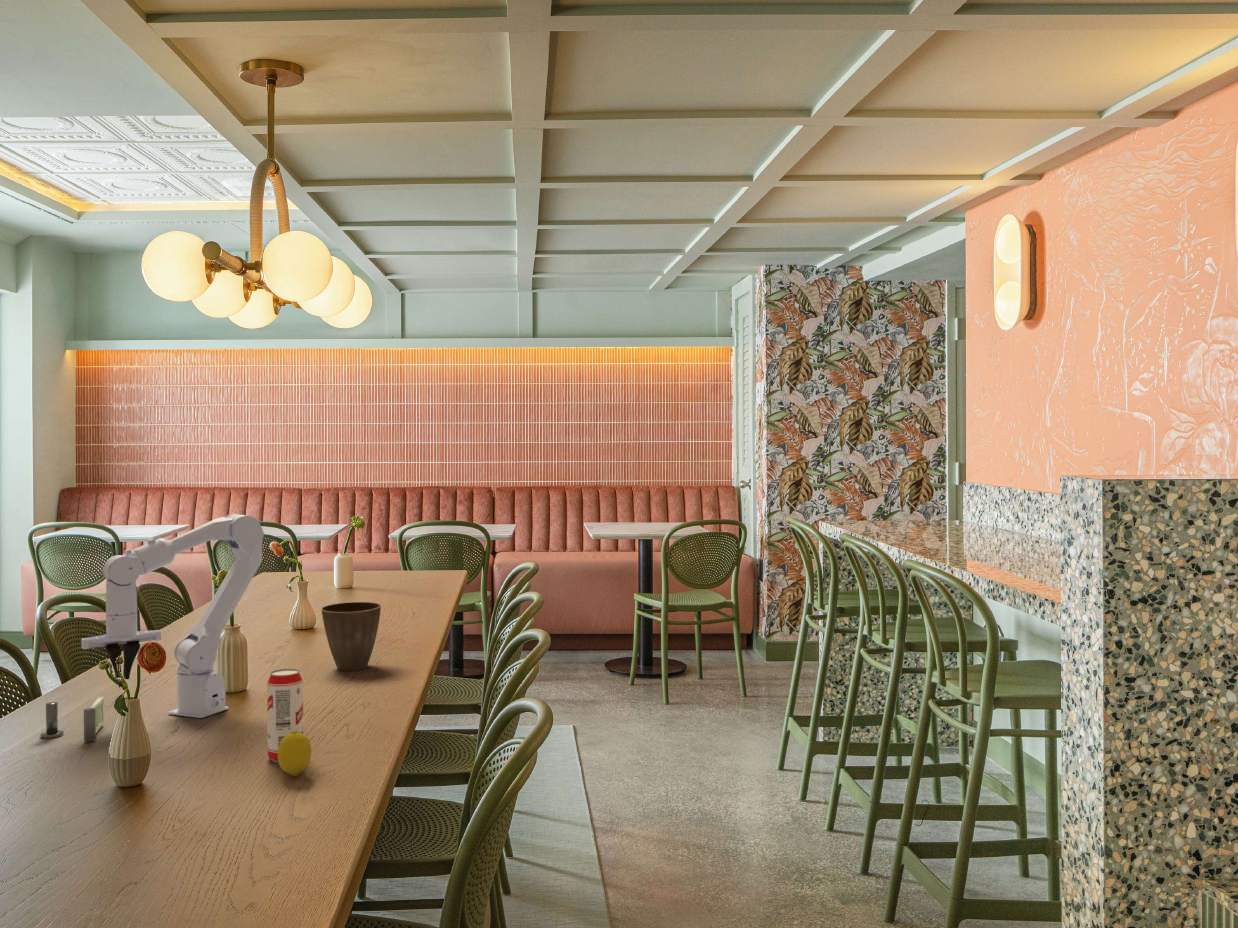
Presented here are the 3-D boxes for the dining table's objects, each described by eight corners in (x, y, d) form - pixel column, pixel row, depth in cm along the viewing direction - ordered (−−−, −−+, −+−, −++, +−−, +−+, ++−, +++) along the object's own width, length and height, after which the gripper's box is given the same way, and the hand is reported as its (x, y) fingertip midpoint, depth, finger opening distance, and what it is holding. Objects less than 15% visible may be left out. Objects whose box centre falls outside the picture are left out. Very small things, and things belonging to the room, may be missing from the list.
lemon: (300, 768, 169) (299, 723, 169) (317, 775, 165) (317, 729, 165) (271, 776, 165) (271, 731, 165) (289, 783, 161) (288, 737, 161)
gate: (94, 740, 185) (94, 710, 185) (83, 741, 184) (82, 710, 184) (107, 723, 196) (106, 694, 196) (96, 724, 196) (95, 695, 196)
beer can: (266, 765, 171) (265, 676, 170) (269, 754, 177) (268, 669, 176) (302, 762, 172) (301, 674, 172) (304, 751, 178) (303, 666, 178)
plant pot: (372, 674, 239) (371, 611, 239) (313, 674, 239) (313, 611, 239) (388, 661, 254) (387, 601, 254) (332, 661, 254) (332, 601, 254)
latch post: (68, 733, 190) (68, 701, 190) (49, 739, 186) (49, 706, 186) (54, 731, 192) (53, 699, 192) (35, 737, 188) (35, 704, 188)
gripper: (85, 620, 189) (86, 688, 189) (164, 612, 198) (165, 676, 198) (79, 615, 194) (80, 681, 195) (156, 607, 203) (156, 670, 204)
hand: (122, 678), depth 197 cm, fingers closed
